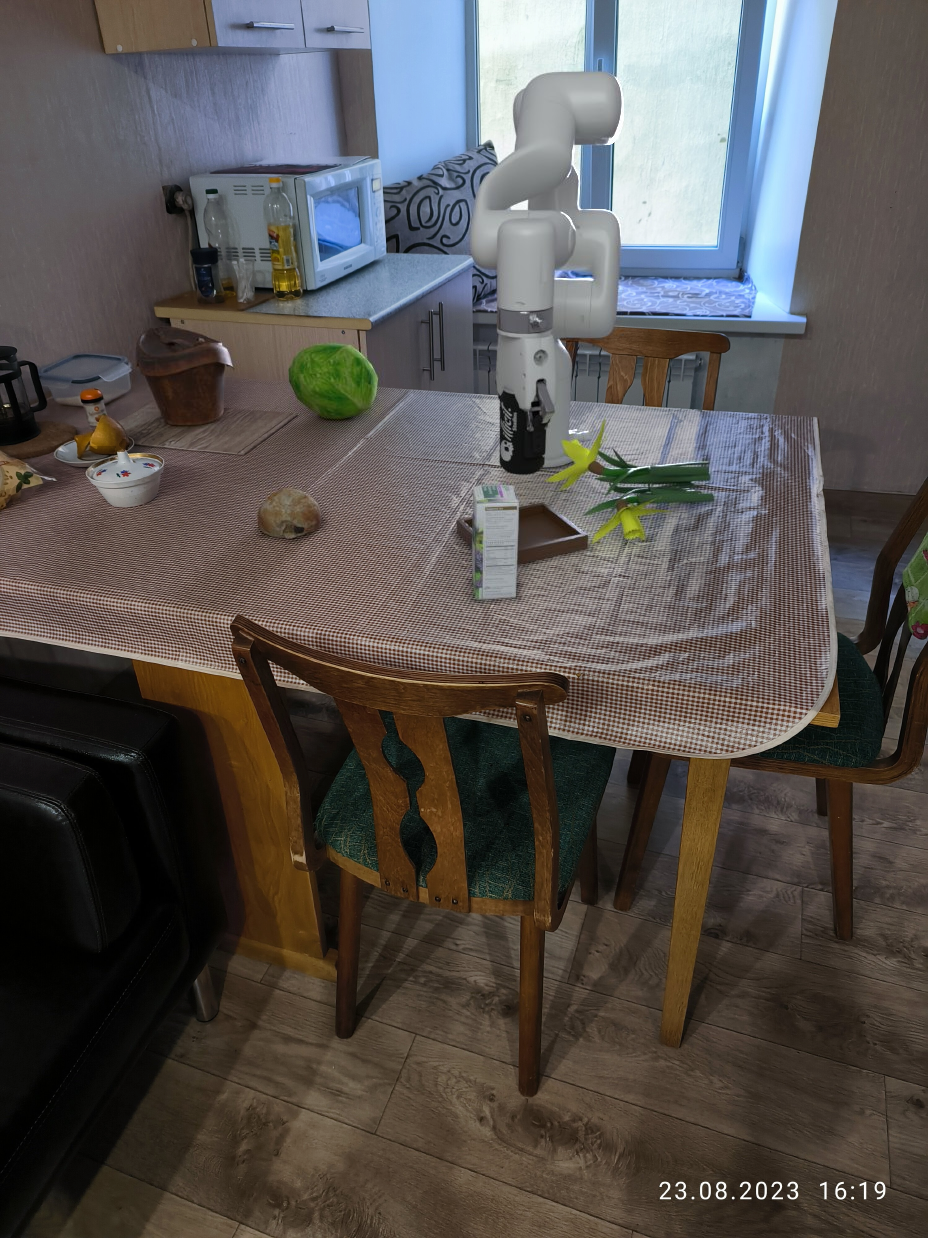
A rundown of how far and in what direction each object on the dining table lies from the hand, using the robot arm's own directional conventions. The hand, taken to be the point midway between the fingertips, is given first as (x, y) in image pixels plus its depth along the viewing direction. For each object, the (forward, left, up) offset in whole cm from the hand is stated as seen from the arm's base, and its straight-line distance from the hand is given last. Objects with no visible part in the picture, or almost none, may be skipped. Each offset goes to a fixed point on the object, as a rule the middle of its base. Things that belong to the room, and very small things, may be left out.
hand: (522, 446), depth 124 cm
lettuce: (+8, -71, -15) cm, 73 cm away
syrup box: (+10, +12, -15) cm, 22 cm away
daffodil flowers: (-20, +2, -15) cm, 25 cm away
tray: (0, 0, -15) cm, 15 cm away
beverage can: (0, 0, -3) cm, 3 cm away
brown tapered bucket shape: (+36, -84, -15) cm, 93 cm away
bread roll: (+31, -21, -15) cm, 40 cm away
